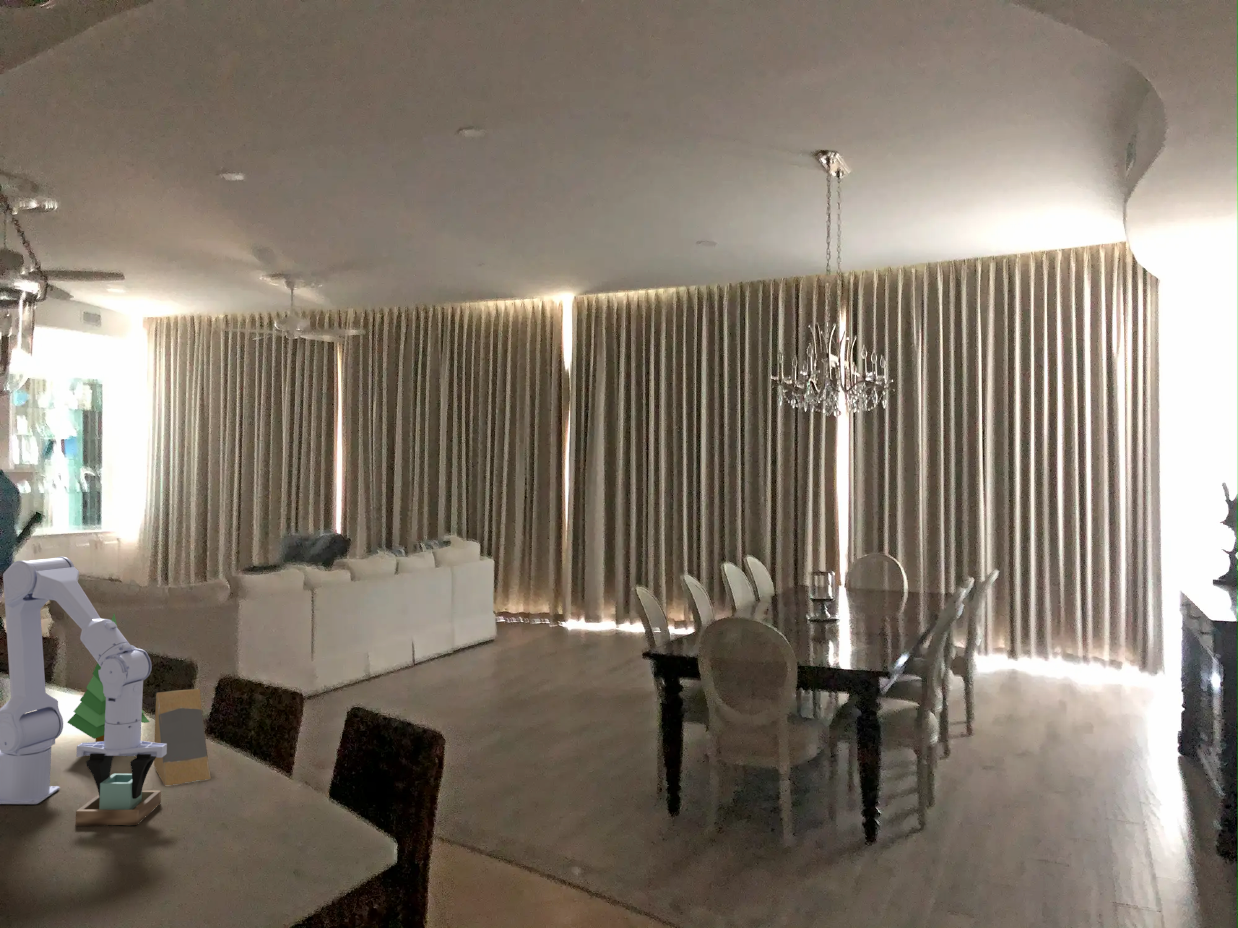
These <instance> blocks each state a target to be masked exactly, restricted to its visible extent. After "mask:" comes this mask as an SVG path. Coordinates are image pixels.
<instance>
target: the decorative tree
mask: <svg viewBox="0 0 1238 928" xmlns="http://www.w3.org/2000/svg"><path fill="white" fill-rule="evenodd" d="M110 620H111V621H112V622H115V624H116V625H117V626H118V623H117V619H116V615H115V613H113V615H112V618H111V619H110ZM96 663H97V664H96V666H95V668H94V670H93V672H92V676H91V677H92V678H91V679H90V681H88V684H87V686H86V687H85V688H86V689H87V690H86V691H85V692H84V693H83V694H82V696H81V698H80V699H79V701H80V703H79V704H78V706H77V707H76V708H75V709H74V710H73V713H74V714H73V716H71V718H69V720H67V722H66V723H67V724H68V725H69V724H70V725H71V726H72V727H74V728H75V729H77V730H78V731H80V732H82V733H83V734H86V735H87V736H88V737H91V738H92V739H94V740H95V742H102V741H104V732H105V710H106V697H105V696H104V693H103V684H102V682H101V680H100V678H99V673H98V670H100V669H101V666H100V665H99V664H98V662H96ZM141 723H145V724H146V723H150V720H149V719H148V718H147V717H146V715H145V711H144V710H143V709H142V720H141Z"/></svg>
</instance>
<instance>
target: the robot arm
mask: <svg viewBox="0 0 1238 928" xmlns="http://www.w3.org/2000/svg"><path fill="white" fill-rule="evenodd" d="M2 578H3V594H4V596H3V597H4V609H5V611H4V612H5V613H4V614H5V625H6V640H7V654H8V655H7V657H8V658H7V659H8V673H9V674H8V675H9V687H10V689H9V690H10V698H9V700H7V702H5V703H4V705H2V706H1V707H0V805H38V804H40V803H41V802H43V801H44V800H46V799H47V798H49V797H50V796H51V795H53V794H54V793H56V792H58V791H59V790H60V788H61V787H60V786H58V785H55V786H53V785H51V769H52V768H51V767H52V766H51V764H52V762H51V761H52V746H54V745H56V739H58V738H59V736H61V735H62V732H63V729H64V718H63V716H62V714H61V712H60V708H59V700H58V699H57V698H54V697H53V696H52V695H50V694H49V693H48V692H47V691H46V678H45V661H44V647H43V645H44V644H43V631H42V617H41V609H42V608H43V607H44V606H45V605H46V603H48V602H49V601H55V602H56V603H57V604H58V605H59V606H60V607H61V608H62V610H64V612H65V613H66V614H67V615H68V616H69V617H70V618H71V619H72V620H73V622H75V624H76V625H77V626H78V627H79V628H80V629H81V632H80V636H79V638H80V639H79V640H80V642H81V643H82V644H83V645H84V647H85V648H86V650H88V652H89V653H90V655H91V656H92V657H93V659H94V660H95V661H96V663H98V664H99V665H100V666H101V669H100V670H98V673H99V678H100V680H101V682H102V684H103V693H104V696H105V697H106V710H105V732H104V741H102V742H96V741H94V742H93V741H92V742H91V741H90V742H81V743H80V744H77V746H76V757H78V758H81V757H85V756H89V758H88V760H87V761H86V763H85V764H86V767H87V769H88V770H89V772H90V773H91V775H92V777H93V778H94V782H95V785H96V788H97V791H98V794H99V798H100V783H102V782H103V781H104V780H106V779H107V778H108V777H110V776H111V770H112V763H113V759H114V757H135V758H134V759H132V760H131V761H130V762H129V766H130V771H131V774H132V798H133V799H136V798H138V797H139V796H140V795H141V792H142V790H143V788H144V784H145V782H146V778H147V775H148V774H149V771H150V769H151V767H152V765H153V764H154V760H155V758H156V757H157V758H162V757H163V756H165V755H166V754H167V744H164V743H155V741H154V742H152V741H146V740H141V739H142V722H141V720H142V710H143V696H144V695H143V692H144V691H143V689H144V681H145V680H146V679H147V678H148V677H150V674H151V672H152V661H151V658H150V656H149V654H148V652H147V651H146V650H144V649H142V648H137V647H136V646H135V645H132V644H130V643H129V641H128V640H127V639H126V637H125V636H124V634H123V633H122V632H121V630H120V629H119V628H118V624H117V625H116V624H115V622H112V621H111V620H112V619H109V618H101V617H100V615H99V613H98V612H97V610H96V608H95V607H94V605H93V604H92V602H91V600H90V599H89V597H88V596H87V595H86V592H85V591H84V590H83V587H81V585H80V583H79V578H80V571H79V570H78V569H77V568H76V567H75V564H74V563H73V562H72V560H71V559H69V558H68V557H66V556H57V557H50V558H42V559H31V560H29V559H28V560H16V561H14V562H13V563H11V565H10V566H9V567H7V569H6V570H5V571H4V572H3V574H2ZM46 692H47V693H46Z"/></svg>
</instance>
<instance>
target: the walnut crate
mask: <svg viewBox="0 0 1238 928" xmlns="http://www.w3.org/2000/svg"><path fill="white" fill-rule="evenodd" d="M161 801H162V790H151V789H150V790H143V789H142V801H141V802H140V803H139V804H138V805H137V806H136V807H134V808H133V809H132V810H99V804H100V798H99V793H98V794H97V795H96V796H94V797H93V798H91V799H90V800H89V801H88V802H86V803H85V804H84V805H82V806H81V807H80V808H78V809H76V811H75V827H80V826H82V827H87V826H88V827H109V826H108V825H137V824H138V823H139V822H140V821H141V820H142V819H143V820H144V818H145V816H147V815H148V814H149V813H150V812H151V811H152V810H153V809H154V808H156V806H158V805H159V804H160V803H161ZM160 805H161V804H160ZM160 805H159V806H160ZM159 806H158V807H159ZM156 809H157V808H156ZM153 811H154V810H153ZM153 811H152V812H153ZM152 812H151V813H152ZM151 813H150V814H151ZM150 814H149V815H150ZM149 815H148V816H149ZM148 816H147V817H148ZM145 819H146V818H145ZM143 820H142V821H143ZM142 821H141V822H142ZM141 822H140V823H141ZM140 823H139V824H140ZM139 824H138V825H139ZM104 825H106V826H104ZM138 825H137V826H138Z"/></svg>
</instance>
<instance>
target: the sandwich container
mask: <svg viewBox="0 0 1238 928" xmlns="http://www.w3.org/2000/svg"><path fill="white" fill-rule="evenodd" d="M154 715H155V716H154V743H164V744H167V754H166V755H165V756H163V757H162V758H157V757H156V758H155V760H154V761H153V765H154V768H155V770H156V771H155V772H156V773H157V774H158V776H159V778H160V777H161V778H160V780H161V781H162V783H163V782H164V783H163V784H164V786H165V785H173V784H181V785H183V784H182V783H185V782H192V781H196V780H205V779H212V777H211V771H210V763H209V756H208V755H209V754H208V749H207V748H208V747H207V743H206V731H205V723H204V716H203V709H202V697H201V688H193V689H192V688H191V689H181V690H178V689H177V690H171V691H170V690H169V691H160V692H156V694H155V713H154Z"/></svg>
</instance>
